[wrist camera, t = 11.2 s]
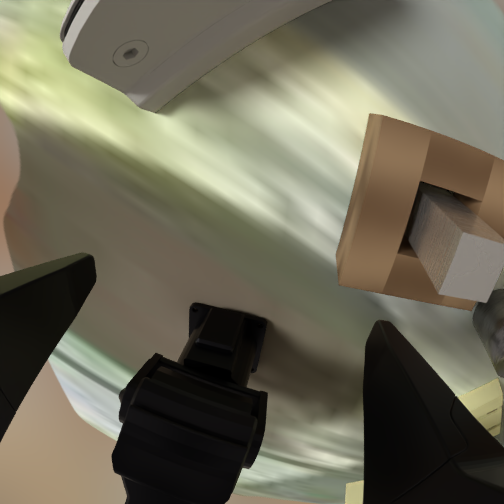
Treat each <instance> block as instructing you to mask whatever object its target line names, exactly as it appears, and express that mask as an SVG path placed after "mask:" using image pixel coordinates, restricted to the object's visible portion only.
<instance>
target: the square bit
mask: <svg viewBox="0 0 504 504" xmlns="http://www.w3.org/2000/svg"><path fill="white" fill-rule="evenodd" d="M404 234H405V236H406V237H407V239H408V241H409V242H410V244H411V246H412V247H413V249H414V251H415V253H416V254H417V256H418V258H419V260H420V261H421V263H422V265H423V267H424V268H425V270H426V272H427V274H428V276H429V278H430V279H431V281H432V283H433V285H434V287H435V289H436V291H437V293H438V294H440V295H446V296H451V297H457V298H462V299H468V300H473V301H479V302H484V303H487V301H488V299H489V297H490V295H491V293H492V291H493V289H494V287H495V284H496V282H497V280H498V278H499V276H500V274H501V271H502V269H503V267H504V239H503V238H502V237H501V236H500V235H499V234H498V233H497V232H495V231H494V230H493V229H492V228H491V227H490V226H489V225H488V224H486V223H485V222H484V221H483V220H482V219H481V218H480V217H478V216H477V215H476V214H475V213H474V212H472V211H471V210H470V209H469V208H468V207H466V206H465V205H464V204H463V203H461V202H460V201H459V200H458V199H456V198H455V197H454V196H453V195H451V194H450V193H449V192H447V191H446V190H444V189H441V188H438V187H434V186H431V185H428V184H424V183H421V182H419V186H418V189H417V193H416V196H415V200H414V203H413V206H412V210H411V213H410V216H409V219H408V223H407V226H406V229H405V232H404Z"/></svg>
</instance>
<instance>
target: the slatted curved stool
mask: <svg viewBox="0 0 504 504" xmlns="http://www.w3.org/2000/svg"><path fill="white" fill-rule="evenodd" d="M458 398H459V400H460V401H461V402H462V403H463V404H464V406H465V407H466V408H467V409H468V410H469V411H470V412H471V414H472V415H473V416H474V417H475V418H476V419H477V420H478V421H479V422H480V423H481V424H482V425H483V426H484V428H485V429H486V430H487V431H488V432H489V433H490V434H491V435H492V436H493V437H494V436H496V435H498V434H500V426H501V425H500V423H501V415H502V408H501V406H502V401H503V393H502V390H501V387H500V383H499V379H498V378H496V379H494V380H492V381H491V382H489V383H487V384H485V385H483V386H481V387H479V388H476V389H474V390H472V391H470V392H468V393H466V394H464V395H461V396H459V397H458ZM363 486H364V480H362V481H357V482H352V483H347V484H346V499H345V504H363Z"/></svg>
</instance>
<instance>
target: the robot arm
mask: <svg viewBox="0 0 504 504" xmlns="http://www.w3.org/2000/svg"><path fill="white" fill-rule="evenodd" d="M96 277H97V276H96V269H95V261H94V257H93V256H92V255H90V254H87V253H78V254H75V255H71V256H67V257H64V258H60V259H57V260H53V261H50V262H46V263H43V264H39V265H36V266H33V267H29V268H26V269H23V270H19V271H16V272H13V273H10V274H6V275H3V276H0V442H1V440H2V438H3V436H4V434H5V432H6V430H7V429H8V427H9V425H10V423H11V421H12V419H13V417H14V415H15V414H16V411H17V410H18V408H19V406H20V404H21V403H22V401H23V399H24V397H25V396H26V394H27V392H28V390H29V389H30V387H31V385H32V384H33V382H34V380H35V379H36V377H37V376H38V374H39V372H40V371H41V369H42V367H43V366H44V364H45V363H46V361H47V359H48V358H49V356H50V355H51V353H52V352H53V350H54V349H55V347H56V346H57V344H58V343H59V341H60V340H61V338H62V337H63V335H64V334H65V332H66V331H67V329H68V328H69V326H70V325H71V323H72V322H73V320H74V319H75V317H76V316H77V314H78V312H79V311H80V309H81V307H82V305H83V303H84V302H85V300H86V298H87V296H88V295H89V293H90V291H91V290H92V288H93V286H94V284H95V282H96ZM194 308H196V309H198V310H196V309H194ZM259 323H261V324H263V325H259ZM266 327H267V321H266V320H265V319H263V318H259V317H255V316H250V315H246V314H241V313H237V312H233V311H228V310H224V309H220V308H216V307H212V306H208V305H203V304H199V303H193V304H192V305H191V306H190V309H189V340H188V342H187V344H186V346H185V348H184V349H183V351H182V353H181V355H180V357H179V359H178V361H177V362H175V361H172V360H170V359H167V358H165V357H163V355H161V354H158V353H155V354H154V355H153V357H152V358H151V359H149V360H148V361H147V362H146V363H145V364H144V365H143V367H142V368H141V369H140V370H139V371H138V372H137V374H136V375H135V376H134V377H133V378H132V379H131V381H130V382H129V383H128V384H127V386H126V388H124V389H123V390H121V392H120V394H119V400H120V402H121V407H120V411H119V421H120V422H121V423H123V425H122V428H121V431H120V434H119V437H118V440H117V443H116V446H115V448H114V450H113V453H112V463H113V470H114V472H115V473H117V474H119V475H121V477H122V480H123V484H124V487H125V490H126V494H127V499H126V502H125V504H225V503H226V502H227V501H228V500H229V498H230V496H231V494H232V492H233V490H234V488H235V485H236V483H237V480H238V478H239V475H240V473H241V470H242V468H246V469H249V468H250V467H251V466H252V465H253V463H254V461H255V459H256V457H257V455H258V452H259V450H260V447H261V444H262V440H263V436H264V432H265V425H266V411H267V397H268V393H267V392H264V391H257V390H253V389H250V388H247V384H248V380H249V376H250V373H255V372H256V371H257V366H258V362H259V358H260V353H261V349H262V345H263V340H264V336H265V331H266ZM363 410H364V486H363V504H504V447H503V446H502V445H501V444H500V443H499V442H498V441H497V440H496V439H495V438H494V437H493V436H492V435H491V434H490V433H489V432H488V431H487V430H486V429H485V428H484V426H483V425H482V424H481V423H480V422H479V421H478V420H477V419H476V418H475V417H474V416H473V415H472V414H471V412H470V411H469V410H468V409H467V408H466V407H465V406H464V404H463V403H462V402H461V401H460V400H459V398H458V397H457V396H455V394H454V393H453V391H452V390H451V389H450V388H449V387H448V386H447V384H446V383H445V382H444V381H443V380H442V379H441V378H440V376H439V375H438V374H437V373H436V372H435V371H434V370H433V368H432V367H431V366H430V365H429V364H428V363H427V362H426V360H425V359H424V358H423V357H422V356H421V355H420V354H419V353H418V352H417V350H416V349H415V348H414V347H413V346H412V345H411V344H410V343H409V342H408V340H407V339H406V338H405V337H404V336H403V335H402V334H401V333H400V332H399V331H398V330H397V328H396V327H395V326H394V325H393V324H392V323H391V322H389V321H384V320H377V321H376V322H375V324H374V326H373V328H372V331H371V333H370V335H369V337H368V339H367V342H366V346H365V364H364V380H363Z"/></svg>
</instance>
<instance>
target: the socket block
mask: <svg viewBox="0 0 504 504" xmlns="http://www.w3.org/2000/svg"><path fill="white" fill-rule="evenodd" d="M420 181H423V182H426V183H429V184H432V185H435V186H439V187H442V188H445V189H448V190H451V191H454V194H453V196H454V197H455V198H456V199H458V200H459V201H460V202H461V203H463V204H464V205H465V206H466V207H468V208H469V209H470V210H471V211H472V212H474V213H475V214H476V215H477V216H478V217H480V218H481V219H482V220H483V221H484V222H485V223H486V224H488V225H489V226H490V227H491V228H492V229H493V230H494V231H495V232H497V233H498V234H499V235H500V236H501V237H502V238H503V239H504V160H502V159H500V158H497V157H495V156H493V155H491V154H489V153H486V152H484V151H482V150H480V149H477V148H475V147H473V146H470V145H468V144H465V143H463V142H460V141H458V140H455V139H453V138H450V137H447V136H445V135H442V134H439V133H437V132H434V131H431V130H428V129H425V128H422V127H419V126H416V125H413V124H410V123H407V122H404V121H401V120H397V119H394V118H391V117H387V116H384V115H378V114H371V113H369V118H368V124H367V129H366V134H365V138H364V143H363V148H362V153H361V157H360V162H359V166H358V171H357V175H356V179H355V183H354V188H353V192H352V196H351V200H350V204H349V208H348V212H347V216H346V219H345V223H344V227H343V231H342V234H341V238H340V242H339V245H338V249H337V252H336V261H337V271H338V281H339V285H341V286H346V287H351V288H356V289H361V290H366V291H371V292H376V293H381V294H386V295H391V296H396V297H401V298H406V299H411V300H416V301H421V302H427V303H432V304H437V305H442V306H448V307H453V308H458V309H463V310H469V311H472V309H473V307H474V305H475V303H476V301H473V300H468V299H462V298H457V297H451V296H446V295H440V294H438V293H437V291H436V289H435V287H434V285H433V283H432V281H431V279H430V278H429V276H428V274H427V272H426V270H425V268H424V267H423V265H422V263H421V261H420V260H419V258H418V256H417V254H416V253H415V251H414V249H413V247H412V246H411V244H410V242H409V241H408V239H407V237H406V236H405V234H404V232H405V229H406V226H407V223H408V219H409V216H410V213H411V210H412V206H413V203H414V200H415V196H416V193H417V189H418V186H419V182H420Z"/></svg>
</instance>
